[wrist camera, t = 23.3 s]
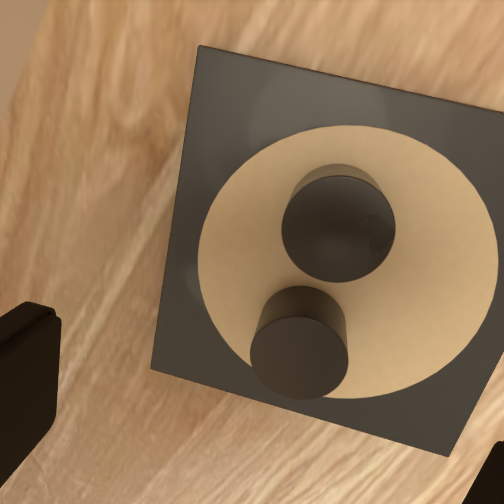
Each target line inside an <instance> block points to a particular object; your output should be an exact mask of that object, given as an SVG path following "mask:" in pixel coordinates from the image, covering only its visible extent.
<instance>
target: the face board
mask: <svg viewBox="0 0 504 504" xmlns="http://www.w3.org/2000/svg"><path fill="white" fill-rule="evenodd" d="M330 164H346V165H351V166H354V167H357V168H359V169H361V170H363V171H364V172H366V173H367V174H368V175H370V176H371V177H372V178H373V179H374V180H375V182H376V183H377V184H378V186H379V187H380V189H381V191H382V192H383V194H384V195H385V197H386V199H387V200H388V202H389V204H390V206H391V208H392V210H393V213H394V217H395V223H396V233H395V239H394V243H393V246H392V248H391V250H390V253H389V254H388V256H387V257H386V259H385V260H384V261H383V263H382V264H381V265H380V266H379V267H378V268H377V269H375V270H374V271H373V272H371V273H370V274H368V275H366V276H365V277H362V278H360V279H357V280H354V281H350V282H344V283H332V282H325V281H321V280H318V279H315V278H313V277H311V276H309V275H307V274H306V273H304V272H303V271H301V270H300V269H299V268H298V267H297V266H296V265H295V264H294V263H293V262H292V260H291V259H290V258H289V256H288V254H287V252H286V250H285V248H284V245H283V241H282V234H281V224H282V219H283V215H284V212H285V209H286V207H287V204H288V202H289V199H290V197H291V194H292V192H293V190H294V188H295V187H296V185H297V184H298V183H299V181H300V180H301V179H302V178H303V177H304V176H305V175H307V174H308V173H310V172H311V171H313V170H315V169H317V168H319V167H322V166H325V165H330ZM293 286H309V287H314V288H317V289H319V290H321V291H324V292H325V293H327V294H328V295H330V296H331V297H332V298H333V299H334V300H335V301H336V302H337V303H338V304H339V306H340V307H341V309H342V311H343V313H344V316H345V321H346V332H347V345H348V357H349V364H348V370H347V373H346V375H345V378H344V379H343V381H342V382H341V384H340V385H339V386H338V387H337V388H336V389H335V390H334V391H332V392H331V393H329V394H328V395H325V396H323V397H321V398H318V399H313V400H305V401H304V400H292V399H288V398H285V397H282V396H279V395H277V394H275V393H274V392H272V391H270V390H269V389H268V388H266V387H265V386H264V385H263V384H262V383H261V382H260V380H259V379H258V378H257V376H256V375H255V373H254V371H253V368H252V365H251V362H250V347H251V343H252V340H253V337H254V334H255V331H256V328H257V325H258V322H259V318H260V315H261V312H262V309H263V307H264V305H265V304H266V302H267V301H268V300H269V299H270V297H271V296H273V295H274V294H275V293H277V292H278V291H280V290H283V289H285V288H288V287H293ZM503 352H504V113H503V112H498V111H494V110H489V109H485V108H480V107H476V106H471V105H467V104H462V103H458V102H453V101H449V100H444V99H440V98H435V97H431V96H426V95H422V94H417V93H413V92H408V91H404V90H400V89H395V88H391V87H386V86H382V85H377V84H373V83H368V82H364V81H359V80H355V79H350V78H346V77H341V76H337V75H332V74H328V73H323V72H319V71H314V70H310V69H305V68H301V67H296V66H292V65H288V64H283V63H279V62H274V61H270V60H265V59H261V58H256V57H252V56H247V55H243V54H238V53H234V52H229V51H225V50H220V49H216V48H211V47H207V46H202V45H199V46H198V50H197V57H196V64H195V71H194V77H193V84H192V91H191V97H190V104H189V111H188V118H187V124H186V131H185V138H184V145H183V151H182V158H181V165H180V171H179V178H178V185H177V192H176V198H175V205H174V212H173V219H172V225H171V232H170V239H169V245H168V252H167V259H166V266H165V272H164V279H163V286H162V293H161V299H160V306H159V313H158V320H157V326H156V333H155V340H154V346H153V353H152V360H151V367H150V368H151V369H152V370H156V371H159V372H162V373H166V374H169V375H173V376H176V377H179V378H183V379H186V380H189V381H193V382H196V383H199V384H203V385H206V386H210V387H213V388H216V389H220V390H223V391H226V392H230V393H233V394H237V395H240V396H243V397H247V398H250V399H253V400H257V401H260V402H264V403H267V404H270V405H274V406H277V407H280V408H284V409H287V410H291V411H294V412H297V413H301V414H304V415H307V416H311V417H314V418H317V419H321V420H324V421H328V422H331V423H334V424H338V425H341V426H344V427H348V428H351V429H355V430H358V431H361V432H365V433H368V434H371V435H375V436H378V437H382V438H385V439H388V440H392V441H395V442H398V443H402V444H405V445H409V446H412V447H415V448H419V449H422V450H425V451H429V452H432V453H435V454H439V455H442V456H446V457H449V456H450V454H451V452H452V450H453V448H454V446H455V444H456V442H457V440H458V438H459V436H460V434H461V433H462V431H463V429H464V427H465V425H466V423H467V421H468V419H469V417H470V415H471V413H472V411H473V410H474V408H475V406H476V404H477V402H478V400H479V398H480V396H481V394H482V392H483V390H484V388H485V387H486V385H487V383H488V381H489V379H490V377H491V375H492V373H493V371H494V369H495V367H496V365H497V364H498V362H499V360H500V358H501V356H502V354H503Z"/></svg>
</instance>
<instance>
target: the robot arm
mask: <svg viewBox="0 0 504 504" xmlns="http://www.w3.org/2000/svg"><path fill="white" fill-rule="evenodd" d="M61 325H62V324H61V319H60V318H59V317H57V316H56V312H55V310H54V309H53V308H51V307H47V306H43V305H40V304H36V303H33V302H24V303H22V304H20V305H18V306H17V307H15V308H14V309H12V310H11V311H9V312H8V313H6V314H5V315H3V316H1V317H0V488H1V487H2V485H3V484H4V483H5V482H6V481H7V479H8V478H9V477H10V476H11V475H12V474H13V472H14V471H15V470H16V469H17V468H18V466H19V465H20V464H21V463H22V462H23V461H24V459H25V458H26V457H27V456H28V455H29V453H30V452H31V451H32V450H33V449H34V448H35V446H36V445H37V444H38V443H39V442H40V441H41V439H42V438H43V437H44V436H45V435H46V433H47V432H48V431H49V430H50V428H51V426H52V425H53V422H54V420H55V417H56V409H57V392H58V375H59V358H60V341H61ZM462 504H504V441H503V442H502V441H498V442H497V443H495V445H494V446H493V448H492V450H491V452H490V453H489V455H488V457H487V459H486V461H485V462H484V464H483V466H482V468H481V470H480V472H479V473H478V475H477V477H476V479H475V481H474V483H473V484H472V486H471V488H470V490H469V492H468V493H467V495H466V497H465V499H464V501H463V503H462Z"/></svg>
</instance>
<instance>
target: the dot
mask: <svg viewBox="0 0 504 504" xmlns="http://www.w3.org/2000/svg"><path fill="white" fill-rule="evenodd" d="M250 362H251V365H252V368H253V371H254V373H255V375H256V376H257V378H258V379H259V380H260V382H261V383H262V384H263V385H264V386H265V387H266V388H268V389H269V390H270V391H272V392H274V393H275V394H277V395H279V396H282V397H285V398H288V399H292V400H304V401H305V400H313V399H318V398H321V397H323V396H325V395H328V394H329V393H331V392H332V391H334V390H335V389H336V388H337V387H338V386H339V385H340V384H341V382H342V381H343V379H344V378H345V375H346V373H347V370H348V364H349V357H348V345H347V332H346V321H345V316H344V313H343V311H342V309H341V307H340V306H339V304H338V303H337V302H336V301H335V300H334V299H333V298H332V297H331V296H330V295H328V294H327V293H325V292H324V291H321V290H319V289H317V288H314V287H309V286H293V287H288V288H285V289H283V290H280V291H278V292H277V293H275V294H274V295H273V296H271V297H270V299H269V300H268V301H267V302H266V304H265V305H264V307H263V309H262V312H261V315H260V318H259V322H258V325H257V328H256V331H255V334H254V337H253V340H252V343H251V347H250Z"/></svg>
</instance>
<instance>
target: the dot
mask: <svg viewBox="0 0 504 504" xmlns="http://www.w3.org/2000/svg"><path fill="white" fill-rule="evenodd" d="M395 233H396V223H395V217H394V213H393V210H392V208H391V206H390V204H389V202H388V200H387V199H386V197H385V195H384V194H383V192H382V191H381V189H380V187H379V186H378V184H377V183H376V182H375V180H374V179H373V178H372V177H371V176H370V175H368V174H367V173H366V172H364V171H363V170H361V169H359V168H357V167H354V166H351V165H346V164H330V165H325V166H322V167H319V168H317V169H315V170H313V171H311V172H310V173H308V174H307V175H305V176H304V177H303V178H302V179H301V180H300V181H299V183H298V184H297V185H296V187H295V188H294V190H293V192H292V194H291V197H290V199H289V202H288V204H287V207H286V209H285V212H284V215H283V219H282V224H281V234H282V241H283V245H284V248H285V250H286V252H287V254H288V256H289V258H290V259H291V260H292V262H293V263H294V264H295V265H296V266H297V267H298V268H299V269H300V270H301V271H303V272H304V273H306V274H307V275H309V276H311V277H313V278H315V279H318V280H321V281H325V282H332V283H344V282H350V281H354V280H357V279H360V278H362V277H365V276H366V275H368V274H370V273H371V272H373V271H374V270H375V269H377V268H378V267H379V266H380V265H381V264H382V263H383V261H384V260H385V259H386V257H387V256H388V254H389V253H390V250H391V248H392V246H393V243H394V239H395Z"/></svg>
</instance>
